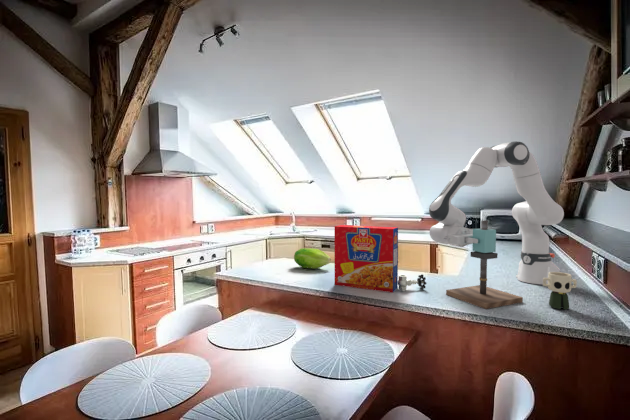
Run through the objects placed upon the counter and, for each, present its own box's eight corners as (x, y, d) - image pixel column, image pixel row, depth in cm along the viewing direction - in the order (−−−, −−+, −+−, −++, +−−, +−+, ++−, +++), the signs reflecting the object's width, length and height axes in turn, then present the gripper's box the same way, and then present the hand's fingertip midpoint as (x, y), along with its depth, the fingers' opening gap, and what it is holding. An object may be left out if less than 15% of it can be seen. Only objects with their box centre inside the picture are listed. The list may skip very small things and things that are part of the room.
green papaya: (324, 273, 187) (324, 251, 187) (288, 269, 197) (288, 249, 197) (334, 268, 199) (334, 248, 198) (299, 264, 209) (299, 245, 208)
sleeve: (483, 249, 144) (483, 228, 143) (495, 251, 138) (496, 229, 138) (472, 250, 142) (472, 228, 141) (484, 252, 136) (485, 230, 136)
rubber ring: (482, 255, 145) (482, 250, 145) (497, 258, 138) (497, 253, 138) (470, 256, 142) (470, 251, 142) (484, 259, 135) (484, 254, 135)
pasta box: (334, 284, 163) (334, 226, 161) (341, 281, 170) (341, 224, 168) (392, 292, 150) (393, 229, 148) (397, 288, 157) (398, 227, 155)
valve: (401, 292, 150) (426, 290, 152) (401, 277, 150) (426, 276, 152) (395, 288, 157) (419, 286, 159) (395, 274, 156) (419, 272, 159)
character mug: (545, 309, 127) (546, 275, 126) (538, 303, 134) (539, 270, 133) (580, 312, 124) (581, 277, 123) (571, 306, 131) (572, 272, 130)
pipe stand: (480, 289, 154) (481, 218, 152) (522, 302, 136) (524, 221, 134) (446, 294, 146) (447, 219, 145) (485, 309, 128) (487, 223, 126)
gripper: (441, 230, 147) (466, 234, 135) (476, 228, 155) (503, 231, 143) (441, 245, 148) (466, 250, 135) (476, 242, 156) (503, 246, 143)
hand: (486, 240), depth 139 cm, fingers open, 7 cm apart
